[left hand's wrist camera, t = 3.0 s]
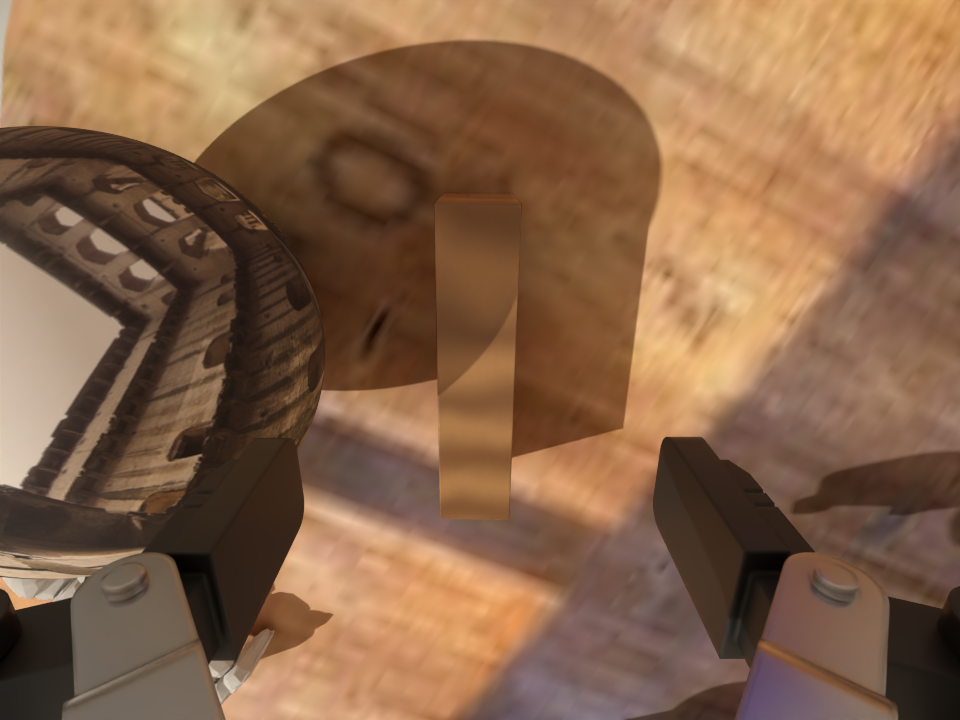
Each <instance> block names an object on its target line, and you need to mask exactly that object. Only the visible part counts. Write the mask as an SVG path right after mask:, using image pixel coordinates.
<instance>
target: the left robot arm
mask: <svg viewBox="0 0 960 720" xmlns="http://www.w3.org/2000/svg"><path fill="white" fill-rule="evenodd" d="M653 509H654V516H655V521H656V524H657V527H658V529H659V531H660V533H661V535H662V538H663V540H664V542H665V544H666V546H667V548H668V550H669V552H670V554H671V557H672V559H673V561H674V563H675V565H676V567H677V569H678V571H679V573H680V576H681V578H682V580H683V582H684V584H685V586H686V588H687V590H688V592H689V595H690V597H691V599H692V601H693V603H694V605H695V607H696V609H697V612H698V614H699V616H700V618H701V620H702V622H703V624H704V626H705V628H706V631H707V633H708V635H709V637H710V639H711V641H712V643H713V645H714V647H715V650H716V652H717V654H718V656H719V658H720V659H745V660H746V662H747V664H748V666H749V668H750V671H749V675H748V678H747V681H746V684H745V687H744V691H743V694H742V697H741V700H740V704H739V707H738V710H737V713H736V717H735V720H960V586H958V587H956V588H954V589H953V590H952V591H951V592H950V593H949V596H948V598H947V600H946V603H945V605H944V607H943V609H940V608H936V607H931V606H927V605H923V604H918V603H914V602H909V601H905V600H901V599H896V598H892V597H888V596H887V594H886V593H885V591H884V590H883V588H882V587H881V586H880V585H879V584H878V582H876V581H875V580H874V579H873V578H872V577H871V576H870V575H868V574H867V573H866V572H864V571H863V570H861V569H859V568H858V567H856V566H854V565H852V564H850V563H848V562H846V561H844V560H841V559H839V558H836V557H833V556H830V555H826V554H821V553H815V551H814V550H813V549H812V548H811V547H810V545H809V544H808V543H807V542H806V541H805V539H804V538H803V537H802V536H801V535H800V534H799V532H798V531H797V530H796V529H795V528H794V526H793V525H792V524H791V523H790V522H789V520H788V519H787V518H786V517H785V516H784V514H783V513H782V512H781V511H780V510H779V508H778V507H775V506H774V502H773V501H772V500H771V499H770V498H769V496H768V495H767V494H766V493H763V489H762V488H761V487H760V486H759V484H758V483H757V482H756V481H755V480H754V479H753V477H752V476H751V475H750V474H749V473H748V472H746V471H745V470H743V469H741V468H740V467H738V466H737V465H735V464H734V463H732V462H731V461H729V460H720V459H719V458H718V457H717V455H716V454H715V453H714V451H713V450H712V449H711V448H710V446H709V445H708V444H707V442H706V441H705V440H704V439H703V438H702V437H665V438H664V439H663V441H662V444H661V449H660V455H659V462H658V469H657V476H656V483H655V490H654V497H653ZM303 513H304V495H303V488H302V482H301V475H300V468H299V461H298V455H297V448H296V444H295V442H294V440H293V439H292V438H255V439H254V440H253V441H252V442H251V443H250V445H249V446H248V447H247V448H246V450H245V451H244V452H243V453H242V455H241V456H240V457H239V458H238V460H237V461H228V462H226V463H225V464H223V465H221V466H220V467H218V468H217V469H215V470H214V471H212V472H211V473H209V474H208V475H207V476H206V477H205V478H204V479H203V480H202V481H201V483H200V484H199V485H198V486H197V487H196V489H195V490H194V491H193V494H191V495H190V496H189V497H188V498H187V499H186V500H185V502H184V503H183V504H182V508H179V509H178V510H177V511H176V512H175V513H174V515H173V516H172V517H171V518H170V519H169V521H168V522H167V523H166V524H165V525H164V527H163V528H162V529H161V530H160V531H159V532H158V534H157V535H156V536H155V537H154V538H153V540H152V541H151V542H150V543H149V544H148V545H147V547H146V548H145V549H144V550H143V551H142V553H139V554H134V555H130V556H127V557H124V558H121V559H119V560H116V561H114V562H112V563H110V564H108V565H106V566H104V567H102V568H101V569H99V570H97V571H96V572H94V573H93V574H92V575H90V576H89V577H88V578H87V579H86V580H85V581H84V582H82V584H81V585H80V586H79V587H78V588H77V590H76V591H75V593H74V594H73V597H71V598H67V599H63V600H59V601H54V602H50V603H45V604H41V605H37V606H32V607H28V608H23V609H19V610H15V609H14V607H13V604H12V602H11V600H10V597H9V595H8V593H7V592H5V591H4V590H2V589H0V720H225V717H224V713H223V710H222V707H221V704H220V700H219V697H218V694H217V691H216V687H215V684H214V681H213V678H212V675H211V671H210V668H209V664H210V662H211V661H236V660H237V658H238V656H239V654H240V652H241V650H242V648H243V646H244V644H245V641H246V639H247V637H248V635H249V633H250V631H251V629H252V627H253V625H254V623H255V621H256V618H257V616H258V614H259V612H260V610H261V608H262V606H263V604H264V602H265V600H266V598H267V595H268V593H269V591H270V589H271V587H272V585H273V583H274V581H275V579H276V577H277V575H278V573H279V570H280V568H281V566H282V564H283V562H284V560H285V558H286V556H287V554H288V552H289V550H290V547H291V545H292V543H293V541H294V539H295V537H296V535H297V533H298V531H299V529H300V526H301V523H302V519H303Z"/></svg>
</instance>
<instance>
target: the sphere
mask: <svg viewBox="0 0 960 720" xmlns="http://www.w3.org/2000/svg"><path fill="white" fill-rule="evenodd" d="M324 368H325V341H324V331H323V325H322V319H321V314H320V310H319V306H318V303H317V300H316V297H315V294H314V291H313V288H312V286H311V283H310V281H309V279H308V276H307V274H306V272H305V270H304V268H303V266H302V264H301V263H300V261H299V259H298V257H297V256H296V254H295V252H294V251H293V249H292V248H291V246H290V245H289V244H288V242H287V241H286V239H285V238H284V237H283V235H282V234H281V233H280V232H279V230H278V229H277V228H276V227H275V226H274V224H273V223H272V222H271V221H270V220H269V219H268V218H267V217H266V216H265V215H264V214H263V213H262V212H261V211H260V210H259V209H258V208H257V207H256V206H255V205H254V204H253V203H252V202H250V201H249V200H248V199H247V198H246V197H245V196H243V195H242V194H241V193H240V192H238V191H237V190H236V189H234V188H233V187H232V186H230V185H229V184H228V183H226V182H225V181H223V180H222V179H220V178H219V177H217V176H215V175H214V174H212V173H211V172H209V171H207V170H205V169H204V168H202V167H200V166H198V165H196V164H194V163H192V162H191V161H189V160H186V159H184V158H182V157H180V156H178V155H176V154H173V153H171V152H168V151H166V150H163V149H161V148H158V147H155V146H153V145H150V144H147V143H144V142H140V141H137V140H133V139H130V138H126V137H122V136H118V135H114V134H109V133H104V132H98V131H92V130H86V129H77V128H67V127H52V126H22V127H7V128H0V577H6V578H18V579H64V578H77V577H86V576H90V575H92V574H93V573H94V572H96V571H97V570H99V569H101V568H102V567H104V566H106V565H108V564H110V563H112V562H114V561H116V560H119V559H121V558H124V557H127V556H130V555H134V554H139V553H142V551H143V550H144V549H145V548H146V547H147V545H148V544H149V543H150V542H151V541H152V540H153V538H154V537H155V536H156V535H157V534H158V532H159V531H160V530H161V529H162V528H163V527H164V525H165V524H166V523H167V522H168V521H169V519H170V518H171V517H172V516H173V515H174V513H175V512H176V511H177V510H178V509H179V508H182V504H183V503H184V502H185V500H186V499H187V498H188V497H189V496H190V495H191V494H193V491H194V490H195V489H196V487H197V486H198V485H199V484H200V483H201V481H202V480H203V479H204V478H205V477H206V476H207V475H208V474H209V473H211V472H212V471H214V470H215V469H217V468H218V467H220V466H221V465H223V464H225V463H226V462H228V461H237V460H238V458H239V457H240V456H241V455H242V453H243V452H244V451H245V450H246V448H247V447H248V446H249V445H250V443H251V442H252V441H253V440H254V439H255V438H292V439H293V440H294V442H295V444H296V448H297V451H298V450H299V448H300V446H301V444H302V442H303V440H304V439H305V437H306V435H307V432H308V430H309V428H310V426H311V423H312V421H313V418H314V415H315V412H316V409H317V406H318V402H319V399H320V394H321V390H322V384H323V378H324Z"/></svg>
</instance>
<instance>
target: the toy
mask: <svg viewBox="0 0 960 720" xmlns="http://www.w3.org/2000/svg"><path fill="white" fill-rule="evenodd" d="M88 577H89V576H86V577H77V578H64V579H18V578H6V577H2V578H3V579H4V581H5V582H6V584H7V585H8V587H9V588H10V589H11V590H13V591H14V592H15V593H16V594H17V595H18V596H19V597H23V598H27V599H30V598H34V597H35V598H38V599H40V600H49V599H54V598H55V597H56V596H57V597H56V598H55V599H54V601H59V600H63V599H67V598H71V597H73V594H74V593H75V591H76V590H77V588H78V587H79V586H80V585H81V584H82V582H84V581H85V580H86V579H87V578H88ZM54 601H53V602H54ZM274 631H275V630H272V631H271V630H269V629H265V630H263V631H261V632H260V633H259V635H257V636H255V637H253V639H252V641H251V642H249V643H247V644H246V646H245V648H243V649H242V650H241V652H240V654H239V656H238V658H237V660H236V661H211V662H210V664H209V668H210V671H211V675H212V678H213V681H214V684H215V687H216V691H217V694H218V697H219V700H220V704H222V703H223V702H224V701H225V700H226V699H227V698H228V697H229V696H230V695H231V694H232V693H234V692H235V691H236V690H237V689H238V688H239V687H240V686H241V685H242V684H243V683H244V682H245V681H246V680H247V679H248V678H249V676H250V675H251V674H252V672H253V670H254V669H255V667H256V665H257V664H258V662H259V660H260V659H261V657H262V655H263V654H264V652H265V650H266V648H267V646H268V644H269V642H270V641H271V639H272V637H273V635H274Z"/></svg>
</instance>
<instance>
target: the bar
mask: <svg viewBox="0 0 960 720" xmlns="http://www.w3.org/2000/svg"><path fill="white" fill-rule="evenodd" d="M520 231H521V204H520V202H519V201H518V200H517V198H516V197H515V195H514V194H493V193H443V194H442V196H441V197H440V198H439V199H438V200H437V201H436V202H435V203H434V233H435V282H436V331H437V380H438V429H439V478H440V518H441V519H509V512H510V487H511V461H512V436H513V410H514V385H515V359H516V334H517V308H518V282H519V257H520Z"/></svg>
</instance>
